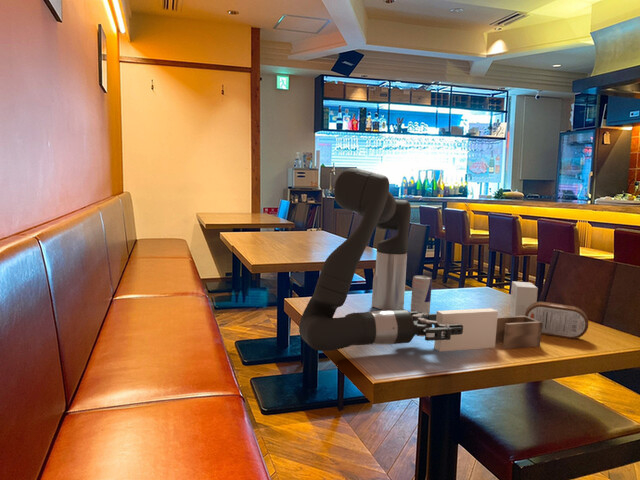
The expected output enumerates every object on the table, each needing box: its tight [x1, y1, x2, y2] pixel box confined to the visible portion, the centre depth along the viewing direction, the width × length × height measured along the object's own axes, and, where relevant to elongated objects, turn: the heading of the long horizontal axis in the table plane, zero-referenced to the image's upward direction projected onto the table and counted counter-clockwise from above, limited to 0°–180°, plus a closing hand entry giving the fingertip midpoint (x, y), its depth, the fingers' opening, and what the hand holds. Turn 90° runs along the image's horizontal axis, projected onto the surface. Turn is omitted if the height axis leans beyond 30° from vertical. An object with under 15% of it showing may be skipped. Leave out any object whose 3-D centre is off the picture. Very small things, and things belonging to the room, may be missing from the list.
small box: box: [508, 280, 539, 316], centre depth 138 cm, size 8×6×10 cm
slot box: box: [495, 315, 543, 350], centre depth 116 cm, size 10×6×6 cm, turn 107°
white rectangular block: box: [433, 307, 499, 352], centre depth 111 cm, size 15×3×9 cm, turn 107°
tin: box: [525, 301, 589, 340], centre depth 124 cm, size 15×3×8 cm, turn 64°
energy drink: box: [410, 274, 433, 315], centre depth 134 cm, size 5×5×12 cm
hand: (451, 323), depth 110 cm, fingers open, 8 cm apart
